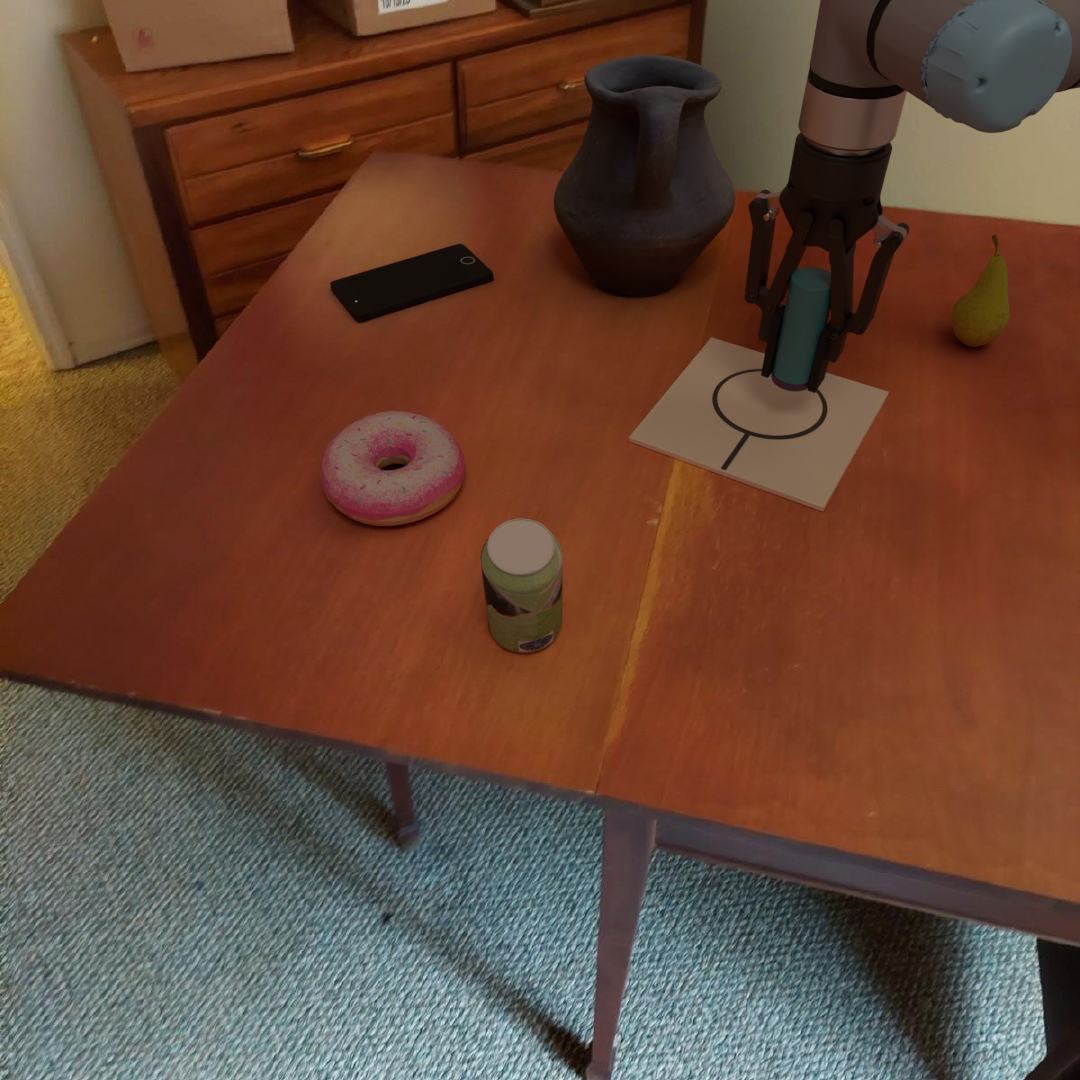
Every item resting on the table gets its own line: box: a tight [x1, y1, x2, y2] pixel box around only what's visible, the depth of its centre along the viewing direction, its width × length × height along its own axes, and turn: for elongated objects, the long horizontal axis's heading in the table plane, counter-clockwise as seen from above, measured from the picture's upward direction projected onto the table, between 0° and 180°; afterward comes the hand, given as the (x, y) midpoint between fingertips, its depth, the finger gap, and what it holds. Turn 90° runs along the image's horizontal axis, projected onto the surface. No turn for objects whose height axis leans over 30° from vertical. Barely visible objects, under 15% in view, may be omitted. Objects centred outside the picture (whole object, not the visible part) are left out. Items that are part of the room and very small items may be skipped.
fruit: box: [950, 234, 1011, 348], centre depth 101 cm, size 6×6×12 cm
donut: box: [319, 410, 466, 527], centre depth 89 cm, size 14×13×5 cm
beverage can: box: [480, 518, 564, 654], centre depth 74 cm, size 6×7×12 cm
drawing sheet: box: [628, 336, 890, 513], centre depth 97 cm, size 20×20×1 cm
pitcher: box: [553, 54, 736, 297], centre depth 107 cm, size 21×22×25 cm
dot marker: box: [771, 266, 831, 391], centre depth 89 cm, size 4×4×11 cm
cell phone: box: [329, 243, 495, 323], centre depth 115 cm, size 9×18×1 cm, turn 120°
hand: (792, 376), depth 93 cm, fingers closed on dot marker, 4 cm apart
